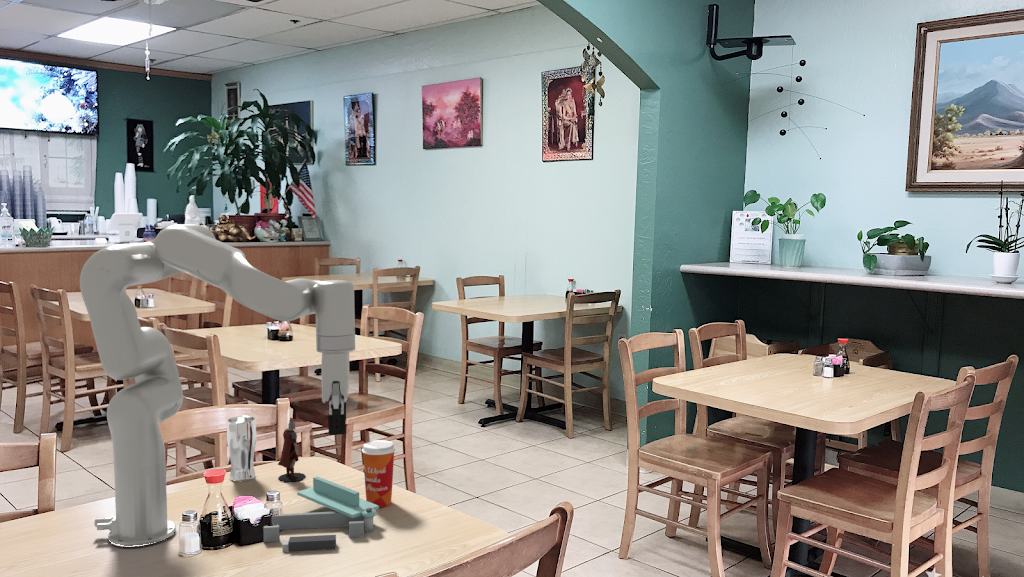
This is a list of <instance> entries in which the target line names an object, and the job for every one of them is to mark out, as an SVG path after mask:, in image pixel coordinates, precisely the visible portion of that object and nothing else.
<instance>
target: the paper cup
mask: <svg viewBox="0 0 1024 577" xmlns="http://www.w3.org/2000/svg"><path fill="white" fill-rule="evenodd" d="M395 451H397V450H396V447H395V445H394V442H392V441H391V440H390V441H389V440H386V439H385V440H384V439H377V440H370V441H367V442H365V443H364V444H363V446H362V449H361V452H362V454H363V455H362V456H363V473H364V487H365V498H366V499H365V501H368V502H371V503H373V504H376V505H378V506H379V509H381V508H387V507H388V506H390V505H391V503H392V496H393V494H392V493H393V479H394V463H395V462H394V460H395V459H394V458H395Z"/></svg>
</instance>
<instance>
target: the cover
mask: <svg viewBox="0 0 1024 577" xmlns="http://www.w3.org/2000/svg"><path fill="white" fill-rule="evenodd" d="M296 495H297V496H299V497H301V498H304V499H306V500H308V501H311V502H312V503H315V504H318V505H319V506H323V507H325V508H328V509H330V510H333V512H336V511H337V512H339V513H341V514H344V515H346V516H349V517H351V518H355V517H358V516H360V515H362V516H363V517H373V518H374V517H376V515H377V510H380V508H379V506H378V505H376V504H373V503H371V502H368V501H366V499H363V498H360V492H359V491H357V490H353V489H351V488H349V487H346V486H344V485H341V484H339V483H336V482H333V481H331V480H328V479H325V478H322V477H320V476H315V477H313V478H312V487H309V488H305V489H302V490H299V491H297V492H296Z"/></svg>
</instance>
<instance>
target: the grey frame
mask: <svg viewBox="0 0 1024 577" xmlns="http://www.w3.org/2000/svg"><path fill="white" fill-rule="evenodd" d="M279 514H280V515H277V516H276V515H275V516H272V524H273V523H274V526H268V525H263V527H262V528H263V543H272V542H273V543H274V542H280V536H281V535H280V532H281V530H282V531H283V530H299V529H300V530H302V529H304V530H305V529H319V528H320V529H322V528H339V527H340V528H341V527H343V528H344V527H348V538H349V539H350V538H364V537H365V532H372V531H374V517H363V516H362V515H360V516H358V517H355V518H351V517H349V516H346V515H344V514H341V513H339V512H337V511H322V512H321V511H320V512H319V511H318V512H302V513H301V512H300V513H299V512H298V513H279ZM277 524H278V525H277Z"/></svg>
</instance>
